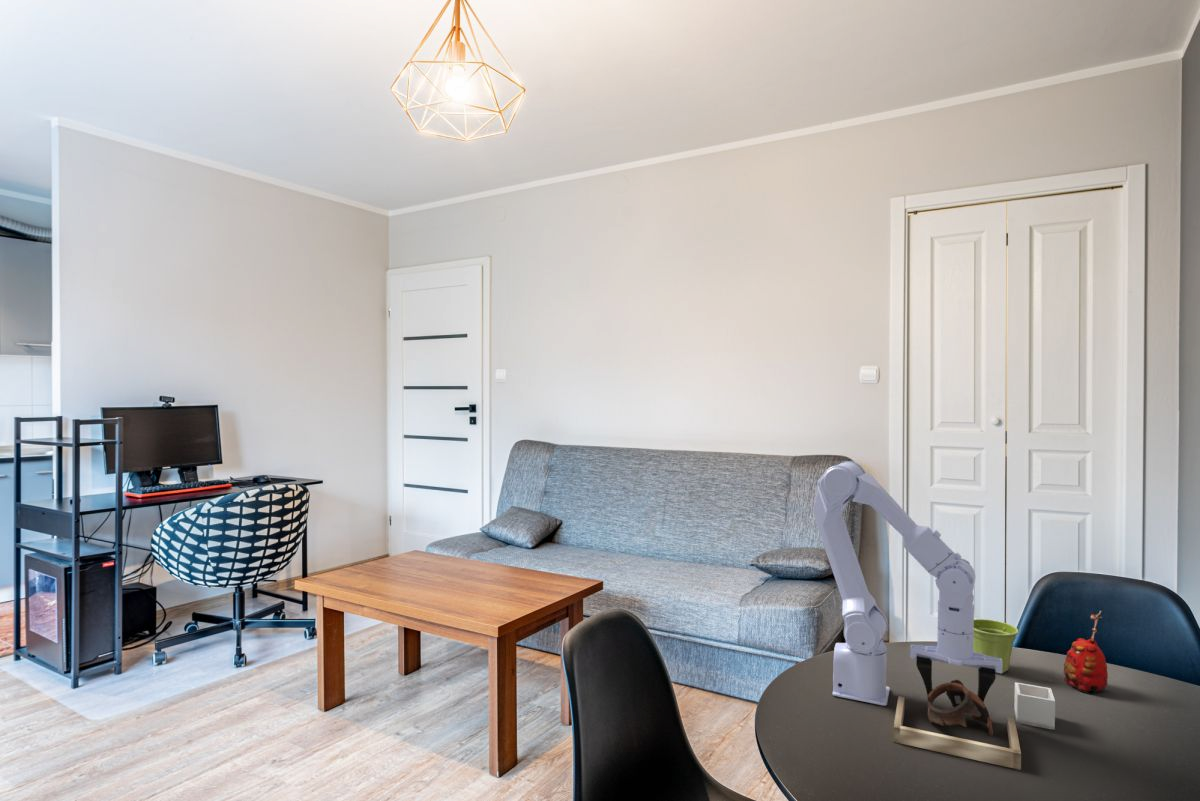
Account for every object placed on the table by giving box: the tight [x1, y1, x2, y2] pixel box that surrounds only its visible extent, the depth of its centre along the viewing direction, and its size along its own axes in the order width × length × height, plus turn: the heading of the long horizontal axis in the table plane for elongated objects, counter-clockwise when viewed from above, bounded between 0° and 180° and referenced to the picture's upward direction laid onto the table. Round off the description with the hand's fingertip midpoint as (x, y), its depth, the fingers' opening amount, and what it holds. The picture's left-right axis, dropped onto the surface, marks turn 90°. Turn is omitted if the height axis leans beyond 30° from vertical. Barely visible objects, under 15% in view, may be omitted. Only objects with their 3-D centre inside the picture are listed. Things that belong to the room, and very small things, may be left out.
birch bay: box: [892, 695, 1022, 771], centre depth 114 cm, size 18×12×2 cm
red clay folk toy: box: [1063, 610, 1109, 693], centre depth 133 cm, size 8×7×15 cm
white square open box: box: [1013, 682, 1056, 731], centre depth 120 cm, size 6×6×5 cm
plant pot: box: [973, 618, 1019, 674], centre depth 142 cm, size 9×9×9 cm
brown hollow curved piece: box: [926, 679, 994, 737], centre depth 119 cm, size 12×10×8 cm
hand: (954, 704), depth 122 cm, fingers open, 7 cm apart
